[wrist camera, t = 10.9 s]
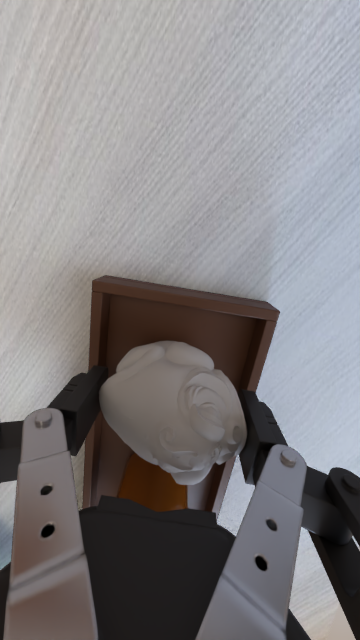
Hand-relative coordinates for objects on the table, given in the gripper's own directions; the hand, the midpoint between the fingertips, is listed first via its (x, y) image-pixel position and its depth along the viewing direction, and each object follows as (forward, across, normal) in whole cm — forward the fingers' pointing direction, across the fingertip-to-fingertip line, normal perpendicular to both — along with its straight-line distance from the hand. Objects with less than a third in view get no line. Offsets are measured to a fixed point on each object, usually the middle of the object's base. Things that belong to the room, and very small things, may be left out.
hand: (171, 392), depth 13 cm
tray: (+4, 0, +9) cm, 9 cm away
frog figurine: (+3, 0, 0) cm, 3 cm away
